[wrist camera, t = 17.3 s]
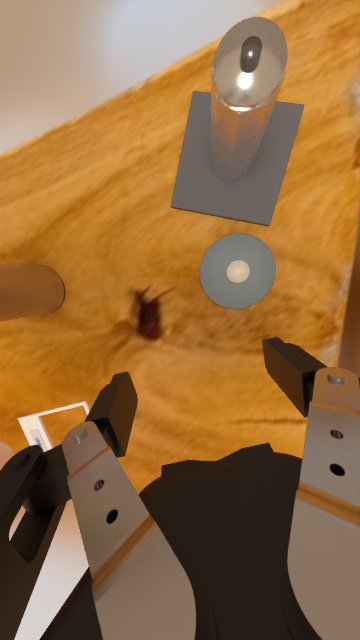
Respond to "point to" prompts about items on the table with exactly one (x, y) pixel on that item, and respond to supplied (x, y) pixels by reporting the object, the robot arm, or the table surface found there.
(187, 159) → the rubber mat
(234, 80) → the steel canister
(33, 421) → the white rectangular frame
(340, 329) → the table surface
